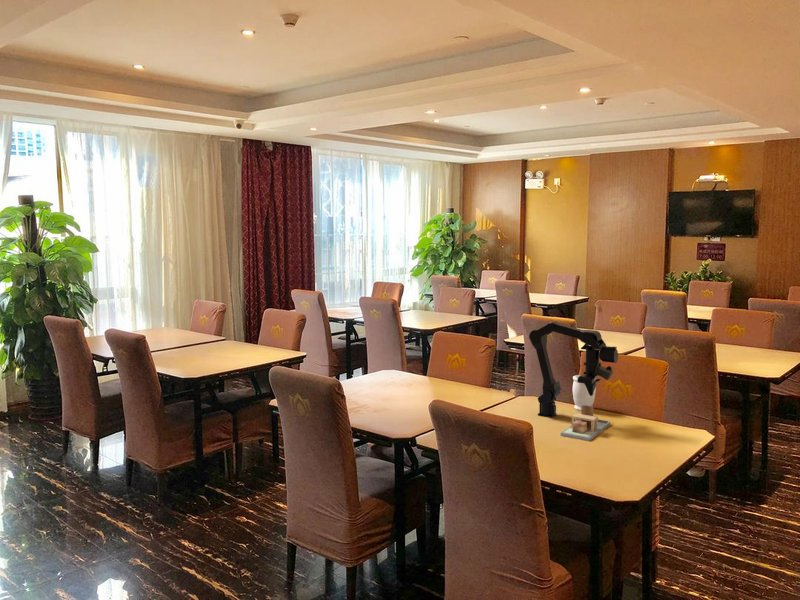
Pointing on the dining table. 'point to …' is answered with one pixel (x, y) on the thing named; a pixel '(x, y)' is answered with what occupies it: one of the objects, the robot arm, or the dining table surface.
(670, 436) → the dining table surface
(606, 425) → the bridge deck
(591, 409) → the wooden block
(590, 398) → the jar
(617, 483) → the dining table surface
